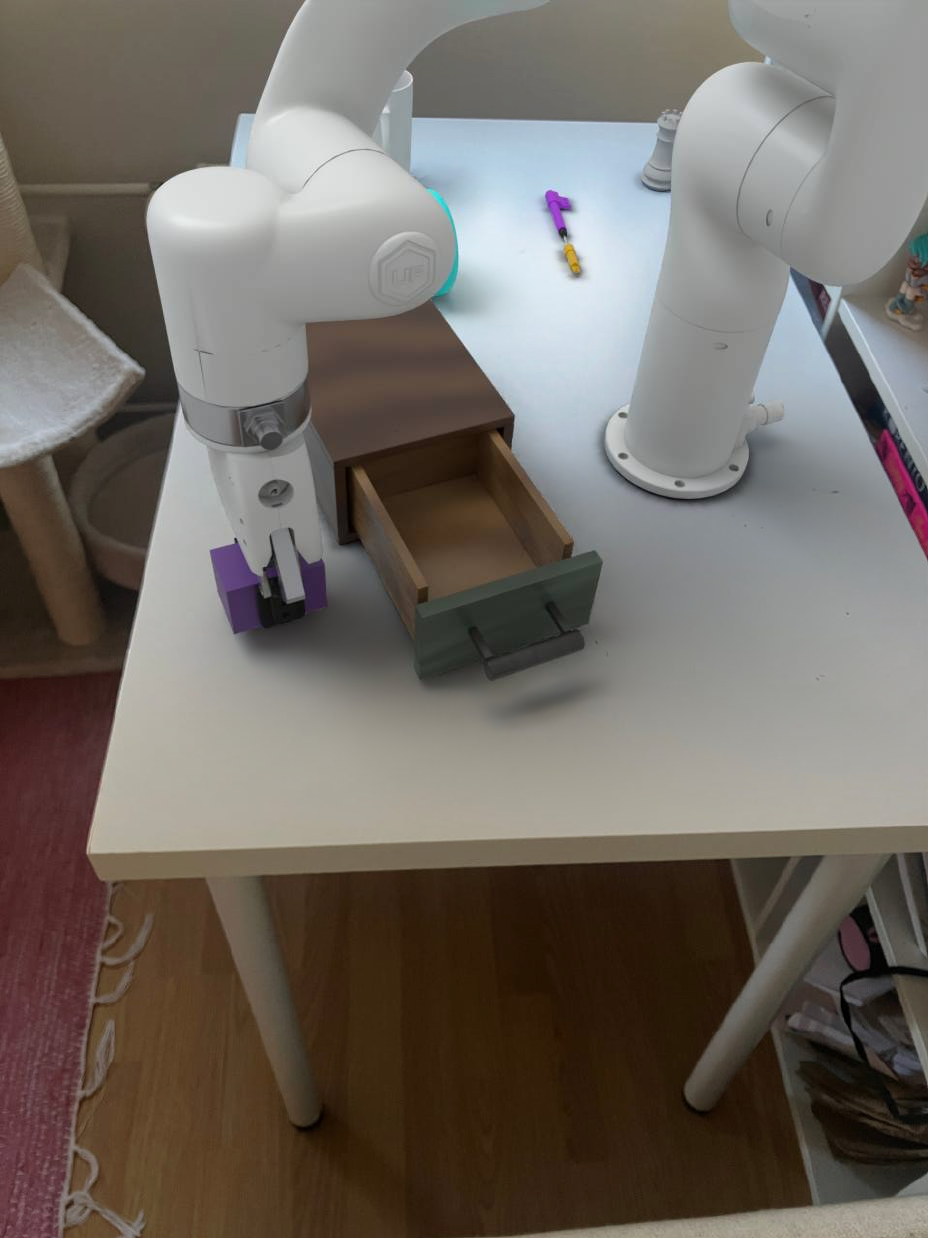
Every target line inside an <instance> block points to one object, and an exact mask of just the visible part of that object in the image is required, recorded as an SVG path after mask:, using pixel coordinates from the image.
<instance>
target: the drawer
mask: <svg viewBox="0 0 928 1238" xmlns="http://www.w3.org/2000/svg"><path fill="white" fill-rule="evenodd" d="M345 473H346V492H347V511H348V517H349V518H350V520H351V522H352V524H353V526H354V528H355V530H356V532H357V534H358V536H359V538H360V539H359V540H360V542H361V543H362V545H363V548H364V549H365V551H366V553H367V555H368V557H369V558H370V561H371V562H372V564H373V566H374V568H375V570H376V571H377V574H378V577H380V579H381V581H382V583H383V585H384V587H385V589H386V591H387V593H388V595H389V596H390V599H391V601H392V603H393V604H394V606H395V608H396V611H397V612H398V614H399V615H400V617H401V620H402V622H403V623H404V625H405V628H406V629H407V631H408V633H409V635H410V637H411V639H412V641H413V669H414V671H415V673H416V675H417V677H418V679H419V681H420V680H421V681H422V680H424V679H426V678H429V677H433V676H435V675H436V676H437V675H440V674H442V673H445V672H448V671H451V670H454V669H456V668H460V667H464V666H466V665H468V664H472V663H475V662H478V661H482V668H483V672H484V675H485V677H486V678H487V679H488V681H490V682H493V681H495V680H499V679H501V678H504V677H507V676H510V675H513V674H515V673H520V672H523V671H525V670H528V669H531V668H533V667H536V666H539V665H542V664H546V663H548V662H552V661H554V660H557V659H560V658H564V657H565V656H566V657H567V656H569V655H572V654H574V653H577V652H581V651H583V650H584V649H585V647H586V644H585V639H584V636H583V634H582V632H581V630H579V629H577V628H580V627H583V626H587V625H588V624H589V622H590V619H591V615H592V611H593V606H594V603H595V602H594V601H595V598H596V594H597V589H598V584H599V582H600V577H601V574H602V573H601V572H602V568H603V565H604V564H603V563H604V560H603V559H602V557H601V556H600V555H599V553H598V552H597V551H596V550H595V549H593V550H590V551H586V552H583V553H579V554H577V555H574V556H573V551H574V546H575V540H574V539H573V537H572V536H571V534H570V533H569V532H568V530H567V529H566V527H565V526H564V524H563V523H562V521H561V520H560V519H559V517H558V516H557V514H556V513H555V512H554V510H553V509H552V507H551V506H550V504H549V503H548V501H547V500H546V498H545V497H544V496H543V494H542V493H541V492H540V489H538V487H537V486H536V484H535V483H534V482H533V480H532V479H531V477H530V476H529V474H528V473H527V472H526V470H525V469H524V467H523V466H522V464H521V463H520V462H519V460H518V459H517V458H516V456H515V454H514V453H513V451H512V449H511V450H510V449H509V447H508V446H507V445H506V443H505V442H504V440H503V439H502V437H501V436H500V434H499V433H498V432H497V430H496V429H493V430H489V431H485V432H481V433H477V434H473V435H469V436H465V437H461V438H458V439H454V440H450V441H446V442H442V443H438V444H434V445H430V446H427V447H423V448H419V449H415V450H411V451H407V452H403V453H399V454H396V455H392V456H388V457H384V458H380V459H376V460H372V461H368V462H364V463H361V464H357V465H353V466H349V467H345Z"/></svg>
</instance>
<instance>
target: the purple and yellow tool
mask: <svg viewBox="0 0 928 1238" xmlns="http://www.w3.org/2000/svg"><path fill="white" fill-rule="evenodd" d="M544 197H545V201H546V204H547V206H548V209H549V211H550V213H551V216H552V219H553V222H554V224H555V228H556V231H557V234H558V235H559V237H560V238H561V239H563V240H564V242H565V245H563V250H562V251H563V253H564V256H565V258H566V259H567V263H568V266H569V268H570V270H571V271H572V272H573V273H576V274H580V272H581V270H580V263H579V260H578V258H577V251H576V249H575V246H574V245H573V244H572V243H568V239H567V237H568V228H567V226H566V222H565V221H564V217H563V215H562V212H561V209H563V210H568V211H570V209H571V207H572V206H571V203H570V200H569V198H568V197H565V196H561V195H559V192H558V191H555V190H552V189H548V190H547V191H546V192H545V195H544Z"/></svg>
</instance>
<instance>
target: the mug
mask: <svg viewBox="0 0 928 1238" xmlns="http://www.w3.org/2000/svg"><path fill="white" fill-rule="evenodd" d="M413 100H414V77H413V75H412V74H411V72H409V71H408V70H407V69H406V70H405V71H404V73H403V74H402V76H401V77H400V79H399V80H398V82H397V83H396V85H395V87H394V89H393V91H392V93H391V95H390V97H389V99H388V101H387V103H386V105H385V107H384V110H383V112H382V114H381V116H380V119H379V121H378V123H377V126H376V128H375V130H374V133H373V135H372V137H371V139H372V140H373V141H375V142H376V143H377V144H378V145H379V146H380V147H381V148H382V149H384V150H385V151H386V152H387V153H388V154H389V155H390V156H391V157H392V158H394V159H395V160H396V162H397V163H398V164H399V165H401V166H402V167H403V168H404V169H405V170H406V171H407V172H408V173H409V174H411V166H412V165H411V162H412V161H411V160H412V135H413V134H412V131H413V103H414V101H413Z"/></svg>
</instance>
